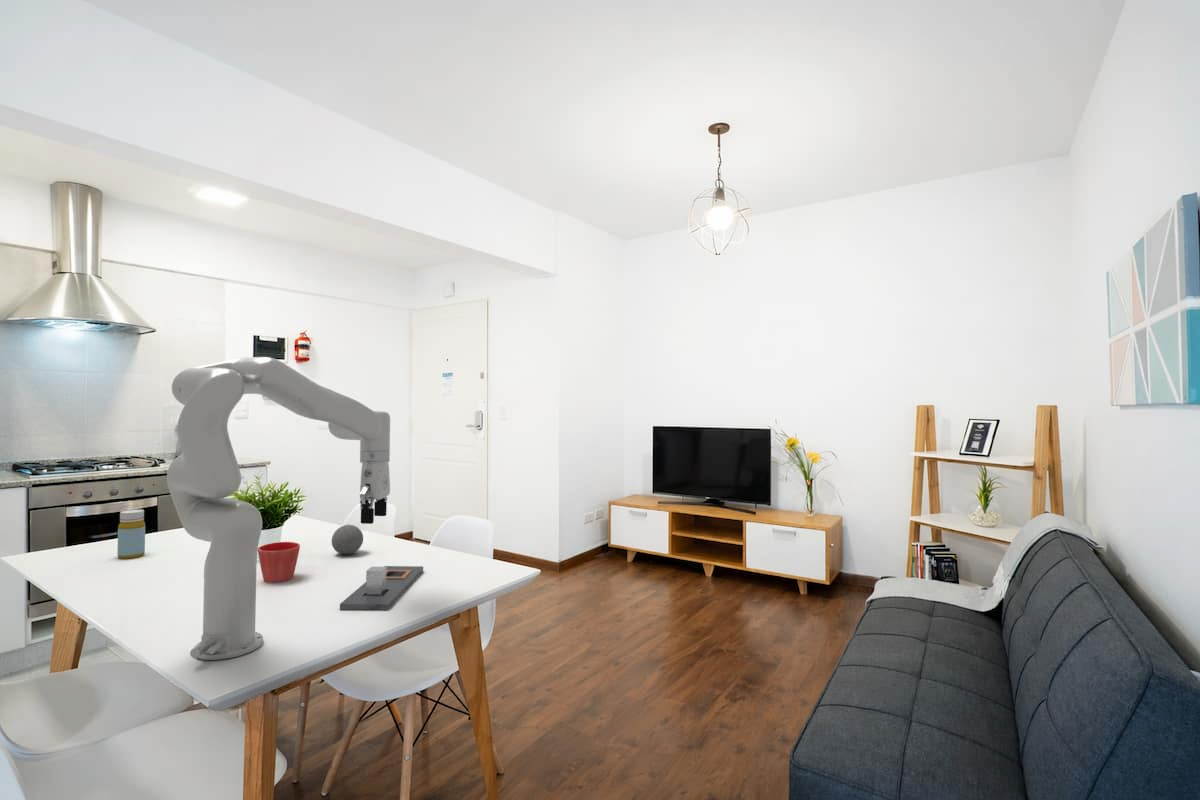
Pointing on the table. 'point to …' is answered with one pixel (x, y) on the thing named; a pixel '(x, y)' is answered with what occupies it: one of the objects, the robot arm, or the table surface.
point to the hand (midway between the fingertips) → (373, 519)
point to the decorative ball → (347, 539)
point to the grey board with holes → (395, 587)
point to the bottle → (131, 534)
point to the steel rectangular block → (376, 581)
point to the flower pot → (278, 560)
